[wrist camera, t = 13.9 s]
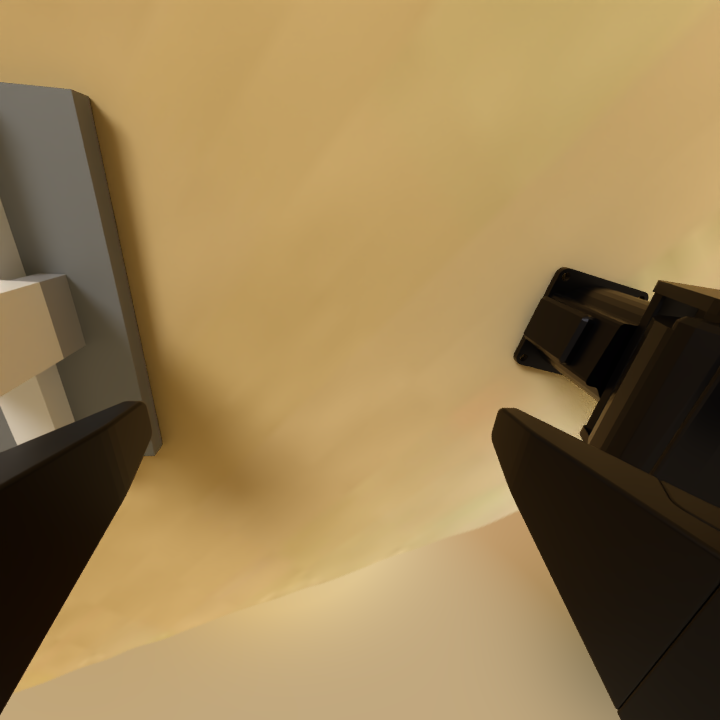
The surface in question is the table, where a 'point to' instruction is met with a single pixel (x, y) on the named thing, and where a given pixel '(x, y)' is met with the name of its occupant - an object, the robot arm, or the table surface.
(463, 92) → the table surface
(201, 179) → the table surface
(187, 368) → the table surface
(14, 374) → the block
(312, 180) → the table surface
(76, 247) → the mounting board
